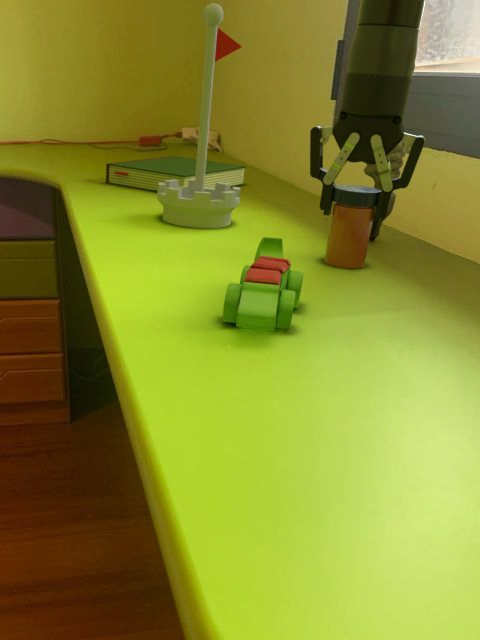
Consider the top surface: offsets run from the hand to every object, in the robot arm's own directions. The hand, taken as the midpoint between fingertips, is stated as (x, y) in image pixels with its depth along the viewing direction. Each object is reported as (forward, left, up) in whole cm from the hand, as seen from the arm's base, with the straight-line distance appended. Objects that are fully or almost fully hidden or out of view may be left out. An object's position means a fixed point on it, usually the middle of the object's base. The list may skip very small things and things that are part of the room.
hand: (351, 217), depth 89 cm
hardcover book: (+22, -59, -6) cm, 63 cm away
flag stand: (+19, -22, -6) cm, 30 cm away
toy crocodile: (+14, +24, -6) cm, 28 cm away
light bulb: (-7, -15, -6) cm, 18 cm away
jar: (0, 0, -6) cm, 6 cm away
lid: (0, 0, +3) cm, 3 cm away
